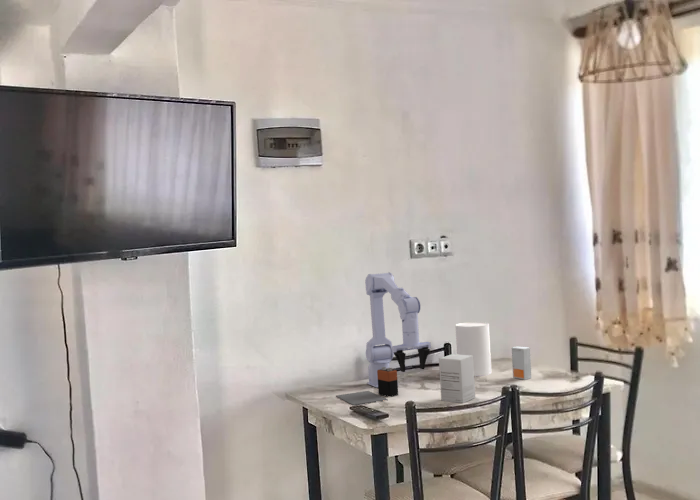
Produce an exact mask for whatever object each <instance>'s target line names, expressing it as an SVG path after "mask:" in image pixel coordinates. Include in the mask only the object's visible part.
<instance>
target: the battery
mask: <svg viewBox="0 0 700 500" xmlns="http://www.w3.org/2000/svg"><path fill="white" fill-rule="evenodd" d="M377 375H378V388H377V389H378V390H377V391H378V395H379V394H381V395H380V396H384V395H385V397H388V396H391V397H395V396H394V395H396V396H398V395H399V383H398V382H399V380H398V371H397V370H396V369H393V367H390V368H387V369H386V367H382V369H380V370H377Z"/></svg>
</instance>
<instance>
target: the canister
mask: <svg viewBox="0 0 700 500" xmlns="http://www.w3.org/2000/svg"><path fill="white" fill-rule="evenodd" d="M490 336H491V334H490V323H489V322H485V321H469V322H460V323H456V324H455V339H456V341H455V343H456V354H458V355H472V356H473V367H474V377H484V375H485V376H488V375H491V374H492V355H491V339H490V338H491V337H490Z"/></svg>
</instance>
